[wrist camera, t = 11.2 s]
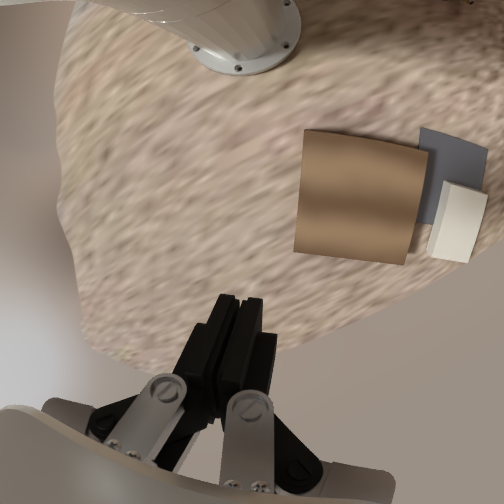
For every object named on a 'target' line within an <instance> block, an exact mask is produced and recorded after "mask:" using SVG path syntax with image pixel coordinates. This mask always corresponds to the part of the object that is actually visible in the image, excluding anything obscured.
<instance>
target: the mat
mask: <svg viewBox="0 0 504 504" xmlns="http://www.w3.org/2000/svg"><path fill="white" fill-rule="evenodd" d="M418 149H420V150H423V151H426V152H428V159H427V166H426V172H425V178H424V184H423V189H422V194H421V199H420V204H419V209H418V213H417V218H416V222H419V223H425V224H430V225H433V224H434V220H435V216H436V212H437V208H438V204H439V200H440V196H441V191H442V186H443V181H444V180H446V181H449V182H453V183H456V184H460V185H463V186H466V187H470V188H473V189H476V190H479V191H481V186H482V181H483V176H484V170H485V164H486V157H487V150H488V149H486V148H483V147H480V146H478V145H475V144H472V143H470V142H467V141H464V140H461V139H458V138H455V137H452V136H449V135H446V134H442V133H439V132H436V131H432V130H429V129H425V128H420V138H419V146H418Z"/></svg>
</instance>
